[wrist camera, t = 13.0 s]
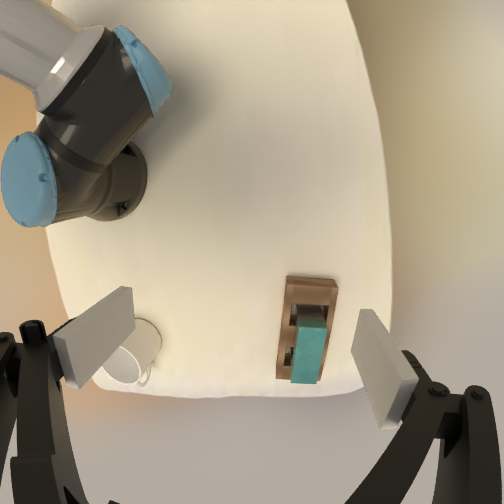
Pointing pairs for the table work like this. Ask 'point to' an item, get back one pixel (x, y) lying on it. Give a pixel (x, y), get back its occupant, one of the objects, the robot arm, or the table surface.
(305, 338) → the tall teal block
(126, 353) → the mug
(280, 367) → the brown wooden frame
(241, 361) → the table surface
